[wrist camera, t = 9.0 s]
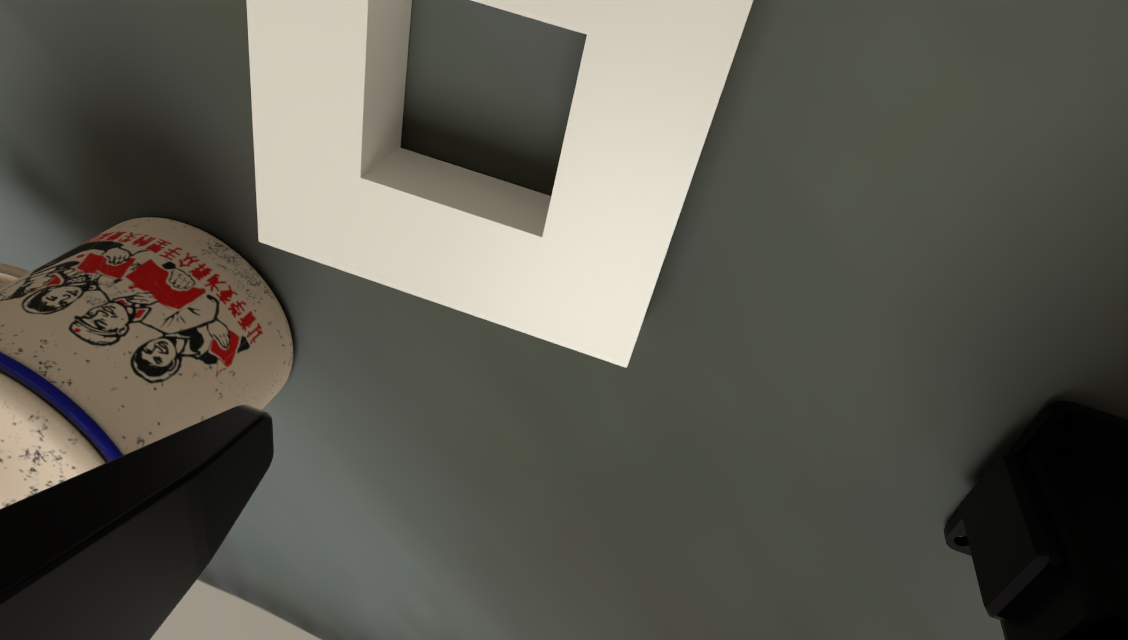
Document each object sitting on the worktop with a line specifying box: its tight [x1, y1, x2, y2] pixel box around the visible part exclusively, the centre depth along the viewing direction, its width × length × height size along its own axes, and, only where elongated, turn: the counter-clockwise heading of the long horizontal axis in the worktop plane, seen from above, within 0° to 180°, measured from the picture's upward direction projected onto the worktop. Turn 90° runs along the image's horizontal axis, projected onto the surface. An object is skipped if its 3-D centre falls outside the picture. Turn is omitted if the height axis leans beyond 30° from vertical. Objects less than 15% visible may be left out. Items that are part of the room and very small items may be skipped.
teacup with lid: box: [0, 217, 293, 509], centre depth 24 cm, size 12×9×12 cm
